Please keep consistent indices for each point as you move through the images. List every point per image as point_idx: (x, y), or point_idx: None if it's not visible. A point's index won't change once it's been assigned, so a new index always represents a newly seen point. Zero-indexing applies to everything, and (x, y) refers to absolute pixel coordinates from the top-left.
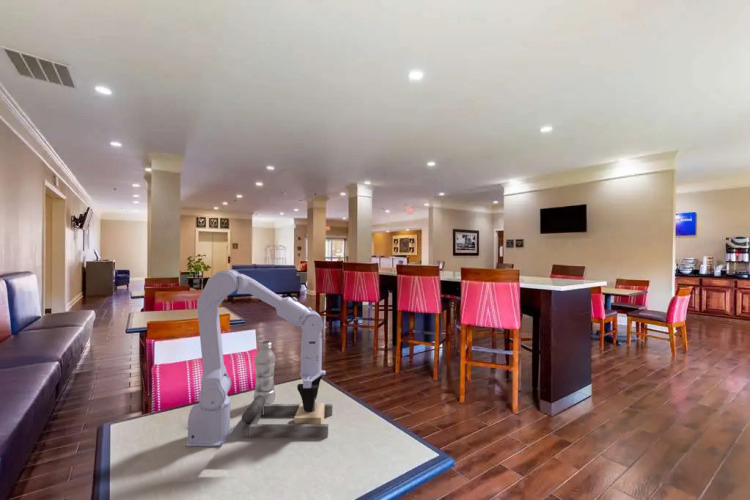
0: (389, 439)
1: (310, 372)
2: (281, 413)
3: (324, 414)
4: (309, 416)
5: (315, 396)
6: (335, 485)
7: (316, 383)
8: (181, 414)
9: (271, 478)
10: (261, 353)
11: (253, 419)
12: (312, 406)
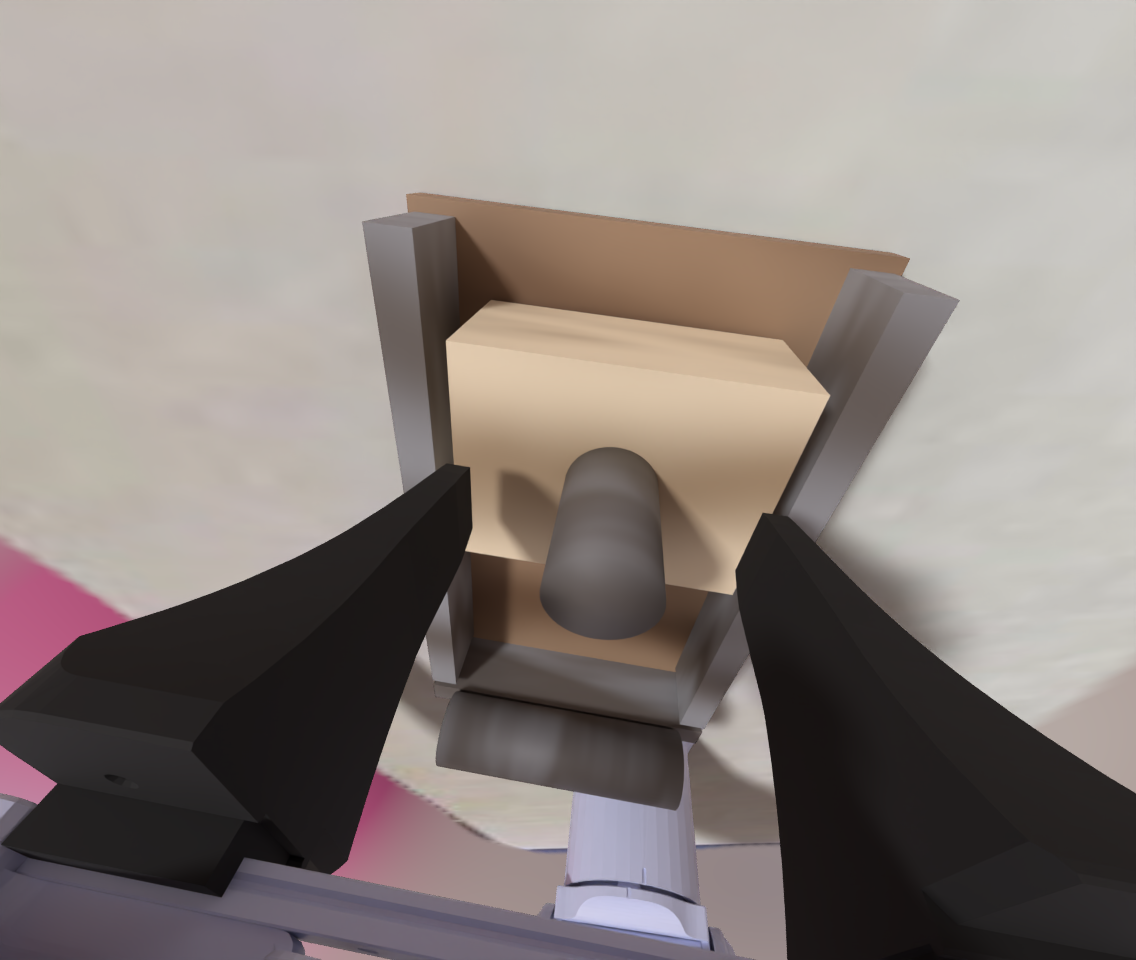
0: None
1: None
2: (465, 580)
3: (453, 300)
4: (751, 497)
5: (457, 491)
6: None
7: (371, 621)
8: (447, 781)
9: (1102, 586)
10: None
11: (681, 744)
12: (817, 554)
